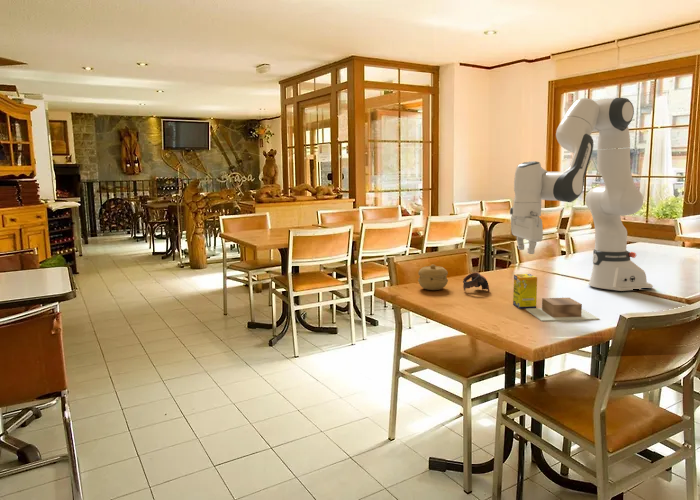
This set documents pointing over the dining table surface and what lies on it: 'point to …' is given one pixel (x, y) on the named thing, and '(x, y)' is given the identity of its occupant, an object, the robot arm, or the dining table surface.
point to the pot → (433, 277)
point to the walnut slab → (561, 307)
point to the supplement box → (525, 291)
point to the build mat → (546, 317)
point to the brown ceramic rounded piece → (475, 281)
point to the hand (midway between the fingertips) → (525, 251)
